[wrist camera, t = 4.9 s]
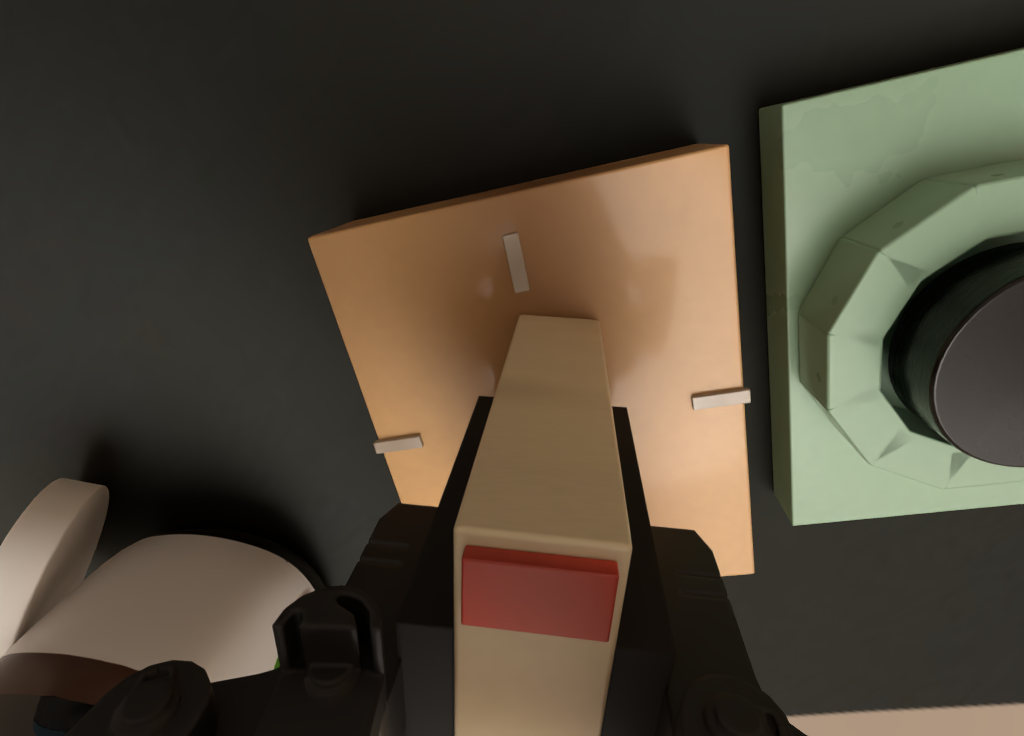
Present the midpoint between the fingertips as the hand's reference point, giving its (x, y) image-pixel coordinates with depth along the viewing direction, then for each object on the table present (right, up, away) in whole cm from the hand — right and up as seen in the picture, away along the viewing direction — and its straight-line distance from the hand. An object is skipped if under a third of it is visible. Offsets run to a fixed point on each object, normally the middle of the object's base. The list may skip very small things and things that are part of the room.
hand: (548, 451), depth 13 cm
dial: (0, +1, +1) cm, 1 cm away
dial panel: (+1, +2, +4) cm, 4 cm away
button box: (+11, +4, +2) cm, 11 cm away
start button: (+10, +3, -1) cm, 11 cm away
